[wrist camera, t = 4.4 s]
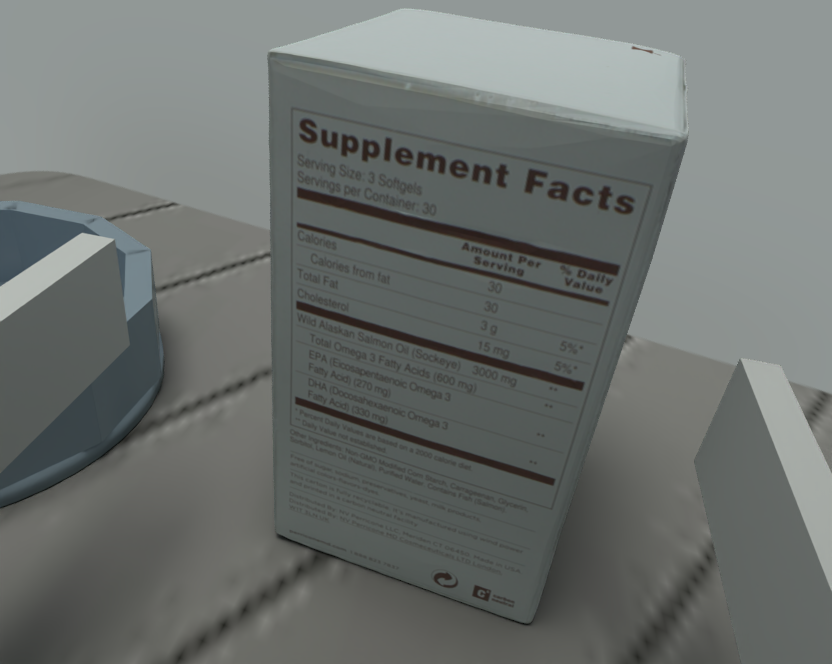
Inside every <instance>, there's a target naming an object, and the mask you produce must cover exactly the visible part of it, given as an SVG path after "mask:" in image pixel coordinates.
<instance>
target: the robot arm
mask: <svg viewBox="0 0 832 664" xmlns="http://www.w3.org/2000/svg"><path fill="white" fill-rule="evenodd" d="M129 346H130V341H129V334H128V327H127V320H126V313H125V306H124V299H123V292H122V285H121V278H120V271H119V264H118V257H117V250H116V243H115V239H112V238H107V237H101V236H96V235H91V234H86V233H81V234H79V235H78V236H76V237H75V238H73V239H72V240H70V241H69V242H67V243H66V244H64V245H63V246H61V247H60V248H58V249H57V250H55V251H53V252H52V253H50V254H49V255H47V256H46V257H44V258H43V259H41V260H40V261H38V262H37V263H35V264H34V265H32V266H31V267H29V268H28V269H26V270H25V271H23V272H22V273H20V274H19V275H17V276H16V277H14V278H13V279H11V280H9V281H8V282H6V283H5V284H3V285H2V286H0V473H1V472H2V471H3V470H4V469H5V468H6V467H7V466H8V465H9V464H10V463H11V462H12V461H13V460H14V459H15V458H16V457H17V456H18V455H19V454H20V453H21V452H22V451H23V450H24V449H25V448H26V447H27V446H28V445H29V444H30V443H31V442H32V441H33V440H34V439H35V438H36V437H37V436H39V435H40V434H41V433H42V432H43V431H44V430H45V429H46V428H47V427H48V426H49V425H50V424H51V423H52V422H53V421H54V420H55V419H56V418H57V417H58V416H59V415H60V414H61V413H62V412H63V411H64V410H65V409H66V408H67V407H68V406H69V405H70V404H71V403H72V402H73V401H74V400H75V399H76V398H77V397H78V396H79V395H80V394H81V393H82V392H83V391H84V390H85V389H86V388H87V387H88V386H89V385H90V384H91V383H92V382H93V381H94V380H95V379H96V378H97V377H98V376H99V375H100V374H101V373H102V372H103V371H104V370H105V369H106V368H107V367H108V366H109V365H110V364H111V363H112V362H113V361H114V360H115V359H116V358H117V357H118V356H119V355H120V354H121V353H122V352H123V351H124V350H125V349H126V348H128V347H129ZM694 463H695V468H696V472H697V476H698V481H699V485H700V489H701V493H702V498H703V502H704V506H705V511H706V515H707V519H708V524H709V528H710V532H711V536H712V541H713V545H714V549H715V554H716V558H717V562H718V567H719V571H720V575H721V579H722V584H723V588H724V592H725V597H726V601H727V605H728V610H729V614H730V618H731V622H732V627H733V631H734V635H735V640H736V644H737V648H738V653H739V657H740V661H741V664H832V473H831V471H830V469H829V467H828V465H827V463H826V460H825V458H824V456H823V454H822V452H821V450H820V448H819V446H818V444H817V441H816V439H815V437H814V435H813V433H812V431H811V429H810V427H809V425H808V422H807V420H806V418H805V416H804V414H803V412H802V410H801V408H800V406H799V403H798V401H797V399H796V397H795V395H794V393H793V391H792V389H791V387H790V384H789V382H788V380H787V378H786V376H785V374H784V372H783V370H782V368H781V366H780V365H775V364H770V363H765V362H760V361H754V360H749V359H744V358H740V359H739V362H738V364H737V366H736V368H735V371H734V373H733V375H732V377H731V380H730V382H729V384H728V386H727V388H726V391H725V393H724V395H723V397H722V400H721V402H720V404H719V406H718V409H717V411H716V413H715V415H714V417H713V420H712V422H711V424H710V426H709V429H708V431H707V433H706V435H705V438H704V440H703V442H702V444H701V446H700V449H699V451H698V453H697V455H696V458H695V460H694Z"/></svg>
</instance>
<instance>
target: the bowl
mask: <svg viewBox="0 0 832 664" xmlns="http://www.w3.org/2000/svg"><path fill="white" fill-rule="evenodd" d="M81 233H86V234H91V235H96V236H101V237H107V238H112V239H115V243H116V250H117V257H118V264H119V271H120V278H121V285H122V292H123V299H124V306H125V313H126V320H127V327H128V334H129V341H130V346H129V347H128V348H126V349H125V350H124V351H123V352H122V353H121V354H120V355H119V356H118V357H117V358H116V359H115V360H114V361H113V362H112V363H111V364H110V365H109V366H108V367H107V368H106V369H105V370H104V371H103V372H102V373H101V374H100V375H99V376H98V377H97V378H96V379H95V380H94V381H93V382H92V383H91V384H90V385H89V386H88V387H87V388H86V389H85V390H84V391H83V392H82V393H81V394H80V395H79V396H78V397H77V398H76V399H75V400H74V401H73V402H72V403H71V404H70V405H69V406H68V407H67V408H66V409H65V410H64V411H63V412H62V413H61V414H60V415H59V416H58V417H57V418H56V419H55V420H54V421H53V422H52V423H51V424H50V425H49V426H48V427H47V428H46V429H45V430H44V431H43V432H42V433H41V434H40V435H39V436H37V437H36V438H35V439H34V440H33V441H32V442H31V443H30V444H29V445H28V446H27V447H26V448H25V449H24V450H23V451H22V452H21V453H20V454H19V455H18V456H17V457H16V458H15V459H14V460H13V461H12V462H11V463H10V464H9V465H8V466H7V467H6V468H5V469H4V470H3V471H2V472H1V473H0V507H3V506H6V505H9V504H11V503H14V502H17V501H19V500H21V499H24V498H26V497H28V496H30V495H33V494H35V493H37V492H40V491H42V490H44V489H46V488H49V487H50V486H52V485H54V484H56V483H58V482H60V481H62V480H63V479H65V478H67V477H69V476H71V475H73V474H74V473H76V472H78V471H79V470H81V469H83V468H84V467H86V466H87V465H89V464H90V463H92V462H93V461H95V460H96V459H98V458H99V457H101V456H102V455H103V454H105V453H106V452H107V451H108V450H110V449H111V448H112V447H113V446H114V445H116V444H117V443H118V442H119V441H121V440H122V439H123V438H124V437H125V436H126V435H127V434H128V433H129V432H130V431H131V430H132V429H133V428H134V427H135V426H136V425H137V424H138V423H139V421H140V420H141V419H142V417H143V416H144V415H145V413H146V412H147V411H148V409H149V408H150V407H151V405H152V403H153V401H154V399H155V397H156V395H157V393H158V391H159V389H160V386H161V382H162V379H163V375H164V353H163V345H162V340H161V334H160V332H159V318H158V309H157V300H156V291H155V282H154V274H153V265H152V256H151V250H150V249H149V248H147V247H146V246H144V245H143V244H141V243H140V242H138V241H137V240H135V239H134V238H132V237H131V236H129V235H128V234H126V233H125V232H123V231H122V230H120V229H119V228H117V227H116V226H114V225H113V224H111V223H110V222H108V221H107V220H105V219H104V218H102V217H100V216H95V215H90V214H84V213H79V212H74V211H69V210H64V209H59V208H53V207H48V206H43V205H38V204H33V203H28V202H22V201H0V286H2V285H3V284H5V283H6V282H8V281H9V280H11V279H13V278H14V277H16V276H17V275H19V274H20V273H22V272H23V271H25V270H26V269H28V268H29V267H31V266H32V265H34V264H35V263H37V262H38V261H40V260H41V259H43V258H44V257H46V256H47V255H49V254H50V253H52V252H53V251H55V250H57V249H58V248H60V247H61V246H63V245H64V244H66V243H67V242H69V241H70V240H72V239H73V238H75V237H76V236H78V235H79V234H81Z"/></svg>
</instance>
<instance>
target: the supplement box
mask: <svg viewBox="0 0 832 664" xmlns="http://www.w3.org/2000/svg"><path fill="white" fill-rule="evenodd" d="M267 56H268V73H269V151H270V243H271V345H272V416H273V476H274V520H275V531H276V533H278V534H280V535H283V536H284V537H286V538H288V539H290V540H293V541H296V542H299V543H301V544H304V545H306V546H308V547H311V548H314V549H317V550H319V551H322V552H325V553H328V554H331V555H334V556H337V557H339V558H341V559H344V560H346V561H349V562H352V563H355V564H358V565H361V566H363V567H366V568H369V569H372V570H375V571H378V572H380V573H382V574H385V575H388V576H391V577H394V578H396V579H399V580H402V581H405V582H407V583H410V584H413V585H416V586H419V587H422V588H424V589H427V590H430V591H432V592H435V593H437V594H440V595H443V596H446V597H449V598H452V599H454V600H457V601H460V602H463V603H466V604H469V605H471V606H474V607H477V608H481V609H484V610H486V611H489V612H492V613H495V614H497V615H500V616H503V617H506V618H509V619H512V620H515V621H518V622H521V623H530V622H532V620H533V618H534V616H535V613H536V610H537V607H538V604H539V601H540V598H541V595H542V592H543V589H544V585H545V582H546V579H547V576H548V573H549V569H550V566H551V563H552V560H553V556H554V553H555V550H556V546H557V543H558V540H559V537H560V534H561V531H562V528H563V525H564V522H565V519H566V516H567V513H568V510H569V507H570V504H571V501H572V498H573V495H574V492H575V489H576V486H577V483H578V480H579V477H580V474H581V471H582V468H583V465H584V462H585V459H586V456H587V453H588V449H589V446H590V443H591V440H592V437H593V434H594V431H595V428H596V425H597V422H598V419H599V416H600V413H601V410H602V407H603V404H604V401H605V398H606V395H607V392H608V389H609V386H610V383H611V380H612V377H613V374H614V371H615V368H616V365H617V362H618V359H619V356H620V353H621V350H622V347H623V344H624V342H625V339H626V336H627V333H628V330H629V326H630V323H631V321H632V317H633V314H634V312H635V309H636V306H637V303H638V300H639V297H640V294H641V291H642V288H643V284H644V282H645V279H646V276H647V273H648V270H649V267H650V264H651V261H652V258H653V254H654V251H655V248H656V245H657V241H658V238H659V234H660V231H661V228H662V225H663V221H664V218H665V215H666V211H667V208H668V205H669V202H670V199H671V195H672V191H673V189H674V185H675V182H676V179H677V175H678V172H679V168H680V165H681V161H682V158H683V155H684V152H685V148H686V145H687V139H688V133H689V131H688V118H687V91H688V88H687V85H686V74H685V73H686V72H685V65H686V61H685V59H684V58H682V57H681V56H679V55H676V54H673V53H670V52H666V51H662V50H658V49H654V48H650V47H645V46H641V45H636V44H631V43H625V42H619V41H613V40H607V39H601V38H595V37H589V36H583V35H576V34H569V33H564V32H557V31H550V30H544V29H538V28H532V27H525V26H518V25H513V24H506V23H500V22H494V21H488V20H482V19H475V18H470V17H464V16H458V15H453V14H446V13H440V12H434V11H427V10H418V9H409V8H403V9H399V10H396V11H393V12H391V13H388V14H385V15H382V16H379V17H376V18H373V19H370V20H367V21H364V22H361V23H358V24H354V25H351V26H348V27H345V28H341V29H338V30H335V31H332V32H329V33H325V34H322V35H319V36H316V37H313V38H309V39H306V40H303V41H299V42H296V43H292V44H289V45H286V46H282V47H278V48H274V49H271V50H270V51H269V52H268V55H267Z"/></svg>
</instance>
